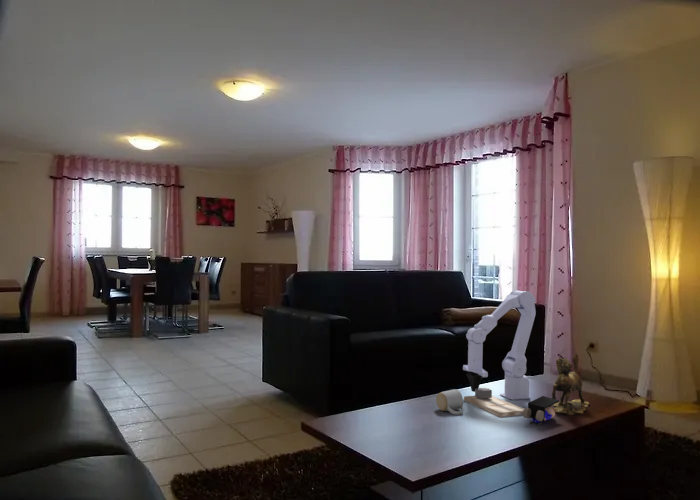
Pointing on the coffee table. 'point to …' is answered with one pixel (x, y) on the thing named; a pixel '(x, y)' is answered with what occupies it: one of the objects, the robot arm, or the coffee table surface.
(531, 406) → the figurine character
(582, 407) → the figurine
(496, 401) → the fader console
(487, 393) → the fader tab
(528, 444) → the coffee table surface
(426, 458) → the coffee table surface
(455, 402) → the ceramic mug
